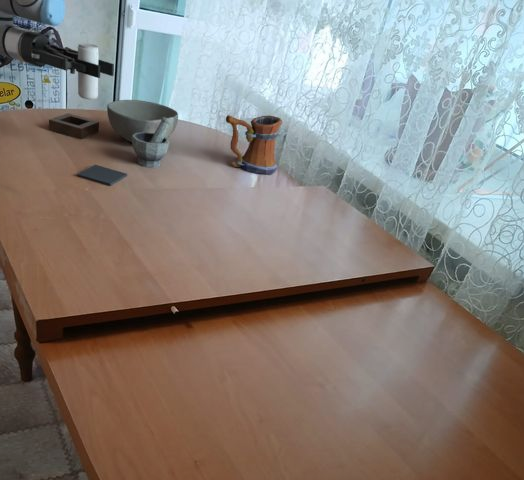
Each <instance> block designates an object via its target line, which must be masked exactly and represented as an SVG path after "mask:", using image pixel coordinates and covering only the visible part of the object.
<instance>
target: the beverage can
mask: <svg viewBox="0 0 524 480" xmlns="http://www.w3.org/2000/svg"><path fill="white" fill-rule="evenodd" d="M77 51H78V59H80V60H83V61H87V62H90V63H93V64H96V65H98V59H99V52H100V51H99V46H98V45H95V44H92V43H86V42H79V43H78V46H77ZM77 94H78V97H80V98H81V99H84V100H89V101H90V100H91V101H92V100H93V101H94V100H96V99H98V97H99V78H97V77H93V76H90V75H87V74H84V73H80V72H77Z"/></svg>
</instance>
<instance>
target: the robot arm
mask: <svg viewBox="0 0 524 480" xmlns="http://www.w3.org/2000/svg"><path fill="white" fill-rule="evenodd" d="M65 16H66V3H65V1H64V0H0V56H4V57H7V58H10V59H14V60H18V62H19V63H20V64H24V63H27V64H29V65H32V66H35V67H38V68H43V67H45V66H49V67H53V68H56V69H59V70H63V71H65V72H66V71H68V70H69V71H70V72H69V74H70V75H75V74H76V72H77V73H78V72H80V73H84V74H87V75H90V76H93V77H97V78H98V79H101V74H104V75H107V76H111V77H114V76H115V63H112V62H108V61H105V60H103V59H99V58H98V65H96V64H93V63H90V62H87V61H83V60H80V59H78V50H75V49H72V48H70V47H69V46H65V47H61V46H58V45H57V44H52V43H50V41H49V39H48V38H47V37H46V35H44V34H42V33H39V32H36V31H32V30H29V29H26V28H22V27H19V26H15V25H14V17H19V18H22V19H26V20H29V21H32V22H35V23H39V24H42V25H44V26H46V25H47V26H51V27H57V26H59V25H61V24H62V23H63V22H64V19H65V18H64V17H65Z"/></svg>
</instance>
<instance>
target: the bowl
mask: <svg viewBox="0 0 524 480" xmlns="http://www.w3.org/2000/svg"><path fill="white" fill-rule="evenodd" d="M106 110H107V118H108V121H109V124H110V126H111V127H112V129H113V131H114V132H115V133H116V134H118V135H119V136H120V137H122V138H123V139H124V140H126V141H127V142H131V143H132V136H133V135H134V134H135V133H140V132H147V133H155V131H156V130H157V128H158V126H159V124H160V122H161V118H162V117H165V118H167V119H169V120H170V121H171V124H170V125H169V126H168V129H167V131H166V134H165V137H166V138H167V139H169V137H170V136H171V135H172V134H173V133H174V132H175V129H176V128H177V125H178V122H179V121H178V120H179V113H178V111H177V110H175V109H174V108H171V107H169V106H167V105H164V104H160V103H156V102H152V101H148V100H147V101H146V100H139V99H120V100H114V101H112V102H109V103H108V104H107V105H106Z"/></svg>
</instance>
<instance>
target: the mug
mask: <svg viewBox="0 0 524 480" xmlns="http://www.w3.org/2000/svg"><path fill="white" fill-rule="evenodd" d="M225 122H226V123H227V124H230V125H231V128H232V135H231V136H232V137H231V139H230V150H231V151H232V153H233V154H235V155H236V157H237V160H235V161H232V162H231V163H230V164H231V165H232V167H233V168H241V169H243V170H244V171H246V172H249V173H251V174H252V173H253V174H257V175H274V173H276V172H277V169H278V165H277V163H276V157H275V155H276V154H275V150H276V149H275V148H276V140H277V137H278V135H279V130H280V128H281V125H282V124H283V120H282V119H281V117H279V116H275V115H260V116H257V117H254V118H253V119H251V121H250V123H248V122H247V121H245V120H243V119H240V118H236V117H234V116H231V115H229V114H228V115H226V117H225ZM237 126H242V127H245V129H246V131H245V132H244V134H245V139H246V141H247V142H248V143H249V144H248V148H247V149H246V151H245V153H244V154H243V155H242V154H241V152H240V151H239V149H238V148H237V146H238V142H239V130H238V127H237Z"/></svg>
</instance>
